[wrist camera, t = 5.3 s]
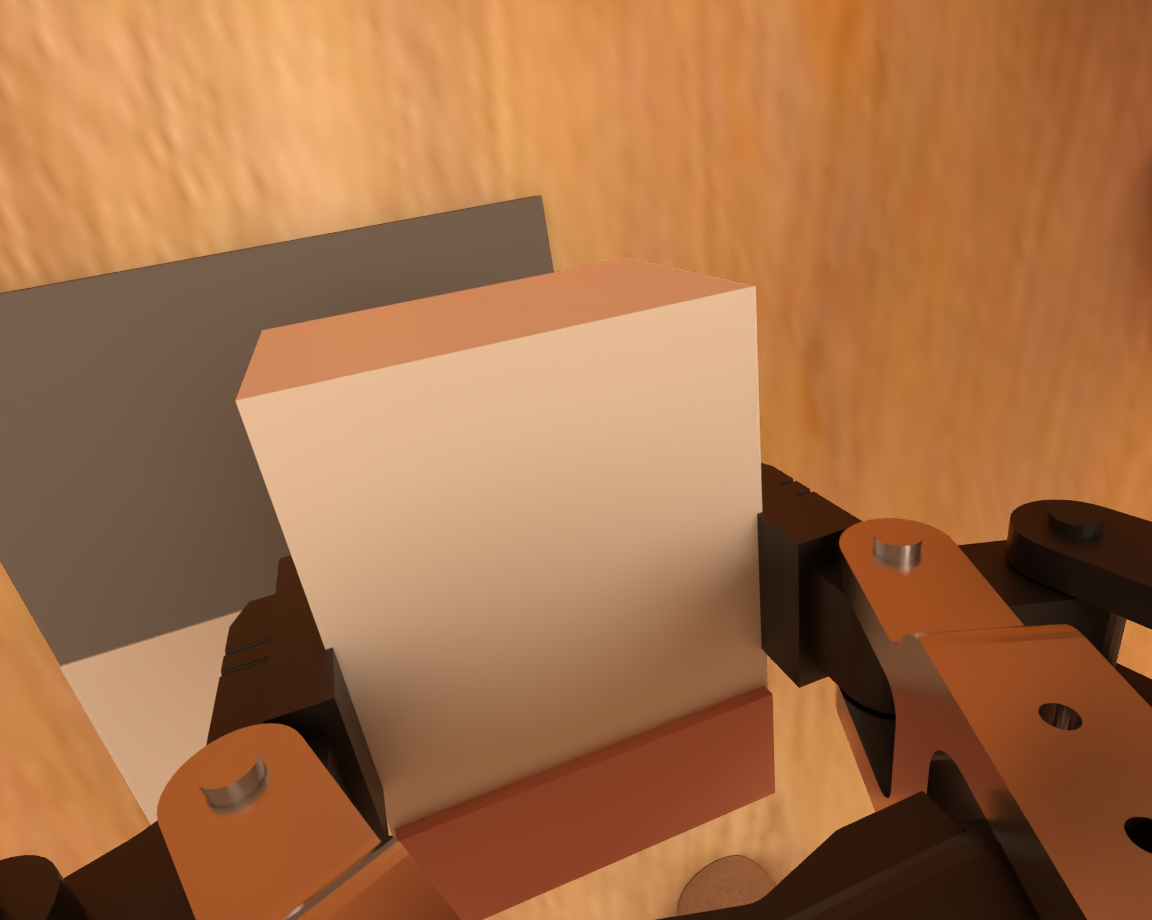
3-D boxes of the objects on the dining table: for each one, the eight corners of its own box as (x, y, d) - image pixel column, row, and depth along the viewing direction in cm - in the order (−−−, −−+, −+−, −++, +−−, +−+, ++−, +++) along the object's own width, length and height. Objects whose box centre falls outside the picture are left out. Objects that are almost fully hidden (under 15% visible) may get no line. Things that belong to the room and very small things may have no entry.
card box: (261, 330, 9) (232, 407, 6) (631, 257, 11) (765, 287, 8) (402, 756, 13) (431, 951, 9) (671, 658, 14) (778, 799, 11)
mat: (-126, 316, 18) (-142, 320, 17) (535, 195, 22) (542, 195, 22) (194, 879, 27) (191, 895, 26) (621, 711, 31) (627, 722, 30)
